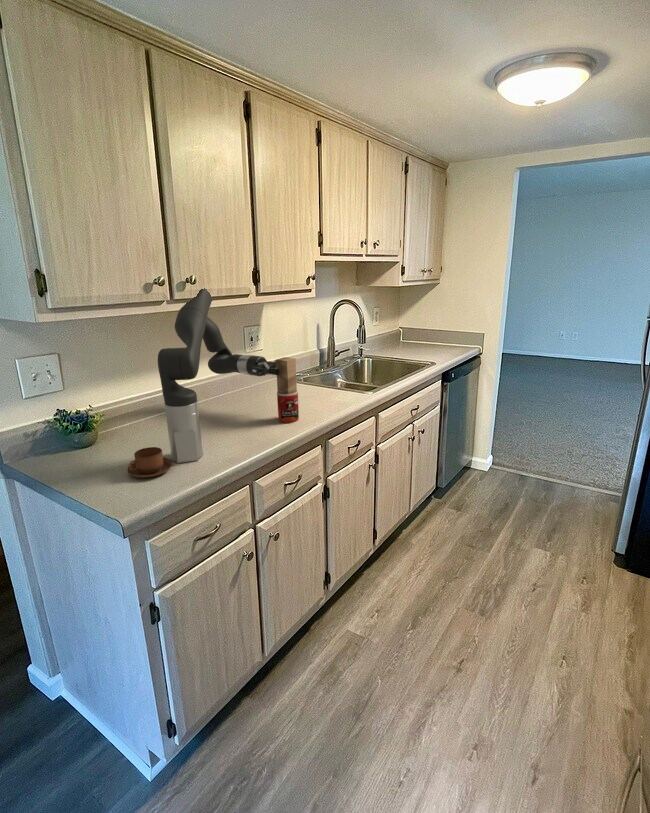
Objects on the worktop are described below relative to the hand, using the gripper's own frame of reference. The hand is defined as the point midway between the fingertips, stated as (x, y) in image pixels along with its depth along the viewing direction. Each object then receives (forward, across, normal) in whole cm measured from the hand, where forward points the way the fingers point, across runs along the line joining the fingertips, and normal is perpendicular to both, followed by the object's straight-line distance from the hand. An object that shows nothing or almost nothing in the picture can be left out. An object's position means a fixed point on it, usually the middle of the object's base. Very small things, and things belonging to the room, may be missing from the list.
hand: (286, 369), depth 168 cm
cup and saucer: (-7, -56, +19) cm, 60 cm away
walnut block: (0, 0, +8) cm, 8 cm away
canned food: (0, 0, +19) cm, 19 cm away
